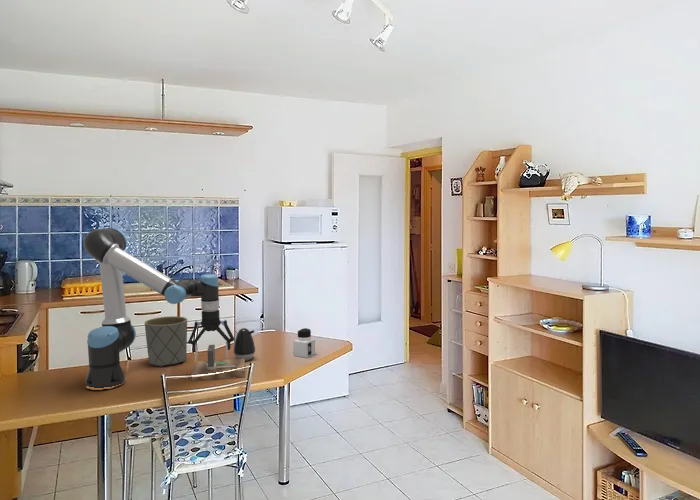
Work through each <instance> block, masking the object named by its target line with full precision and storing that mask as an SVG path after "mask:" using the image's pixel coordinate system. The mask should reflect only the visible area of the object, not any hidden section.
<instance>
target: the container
mask: <svg viewBox="0 0 700 500" xmlns="http://www.w3.org/2000/svg"><path fill="white" fill-rule="evenodd" d="M296 334H297V339H294V340H293V356H294V357H301V358H305V359H306V358H309V357H311V356H314V355H315V354H316V339H315V338H312V331H311V329H310V328H307V327H304V328H303V327H302V328H299V329H298V330H297V333H296Z"/></svg>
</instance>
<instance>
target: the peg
mask: <svg viewBox="0 0 700 500" xmlns="http://www.w3.org/2000/svg"><path fill="white" fill-rule="evenodd" d="M215 348H216V346H215V344H209V345H208V347H207V351H206V353H207V361H208V364H207V367H208V370H215V369H216V368H224V367H235V366H220V367H216V363H215V360H216V349H215Z"/></svg>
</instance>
